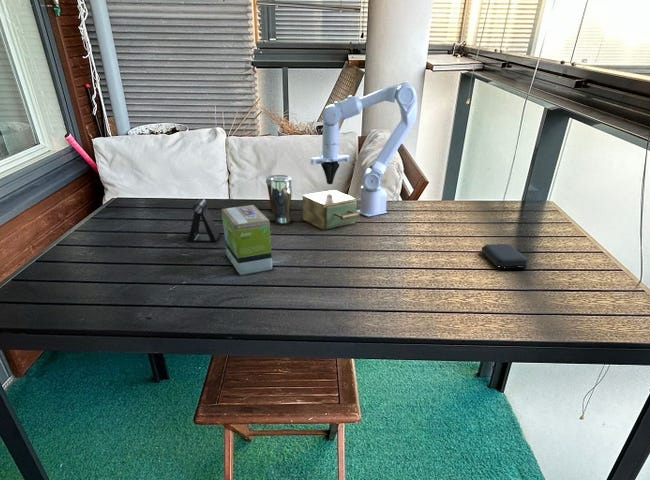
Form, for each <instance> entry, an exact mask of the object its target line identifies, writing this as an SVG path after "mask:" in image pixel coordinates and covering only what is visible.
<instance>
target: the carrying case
mask: <svg viewBox="0 0 650 480" xmlns="http://www.w3.org/2000/svg"><path fill="white" fill-rule="evenodd" d="M481 252H482V253H483V255H484V256H485V257H486V258H487V259H488V260H489V261H490V262H491V263H492V265H494V266H495V267H496V268H498V269H500V270H513V269H514V270H517V269H525V268H526V267H527V265H528V266H529V264H530V262H529V259H528V258H526V257H525V256H524V255H523V254H522V253H521V252H520V249H518V248H516V247H514V246H512V245H511V244H509V243H489V244H488V243H487V244H484V246H482V247H481ZM495 264H496V265H497V266H496V265H495ZM498 266H500V267H498ZM518 266H526V267H518ZM504 267H505V268H504Z"/></svg>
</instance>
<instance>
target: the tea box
mask: <svg viewBox="0 0 650 480" xmlns="http://www.w3.org/2000/svg"><path fill="white" fill-rule="evenodd" d="M221 219H222V226H223V233H224V234H223V235H224V242H225V251H226V256H227V258H228V259H229V261H230V263H231V264H232V265H233V267H234V269H236V271H237V273H238V274H239V275H240V276H243V275H249V274H255V273H261V272H267V271H271V270H273V256H272V239H271V224H270V219H268V218H267V216H266V215H265V214H264V213H262V211H260V210H259V209H258V208H257V207H256V206H255V205H254V204H249V205H242V206H241V205H240V206H235V207H227V208H221Z"/></svg>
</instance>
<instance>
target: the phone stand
mask: <svg viewBox="0 0 650 480" xmlns="http://www.w3.org/2000/svg"><path fill="white" fill-rule="evenodd" d="M192 211H193V217H192V222H191V225H190V231H189V236H188V240H187V241H188V242H196V243H197V242H199V243H200V242H203V243H204V242H205V243H211V242H212V243H216V242H217V240H218V238H219V237H220V232H219V229H218V228H217V226H216V223H215V221H214V220H213V217H212V214H211V213H210V211H209V208H208V203H207V200H206V199H204V198H202V200H201V198H199V199H198V200H197V201H196V202H195V203H194V205H193V206H192ZM201 220H202V223H203V225H204V228H205V231H206V232H207V233H199V231H200V223H201Z"/></svg>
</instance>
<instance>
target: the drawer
mask: <svg viewBox="0 0 650 480" xmlns="http://www.w3.org/2000/svg"><path fill="white" fill-rule="evenodd" d="M357 205H358V202H357V201H356V202H348V203H342V204H338V205H334V206H328V207H327V206H326V207H325V227H326V228H329V227H333V226H338V225H343V224H348V223H352V222H355V223H356V222H357V217H360V213H358V212H356V210H358V209H357ZM348 225H349V224H348Z"/></svg>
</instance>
